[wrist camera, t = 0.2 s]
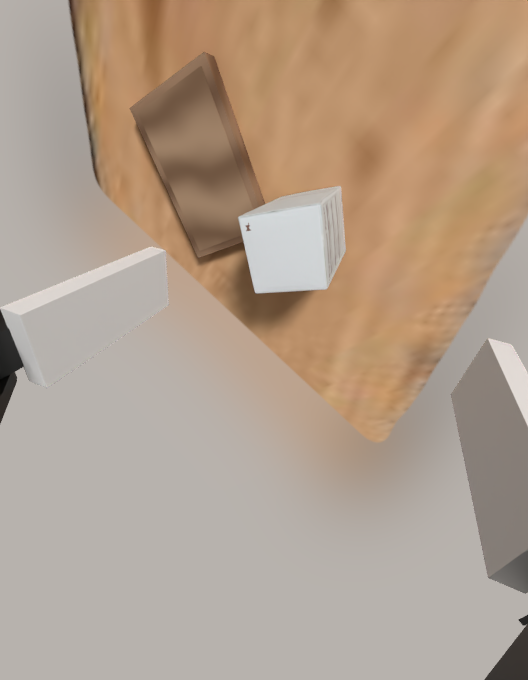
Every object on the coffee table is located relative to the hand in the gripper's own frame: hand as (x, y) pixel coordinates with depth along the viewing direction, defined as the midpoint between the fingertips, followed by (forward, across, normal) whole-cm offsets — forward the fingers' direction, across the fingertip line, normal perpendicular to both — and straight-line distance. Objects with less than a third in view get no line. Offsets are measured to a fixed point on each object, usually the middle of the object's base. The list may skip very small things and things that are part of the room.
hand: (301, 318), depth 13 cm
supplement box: (+27, -5, -2) cm, 28 cm away
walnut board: (+27, -19, +1) cm, 33 cm away
